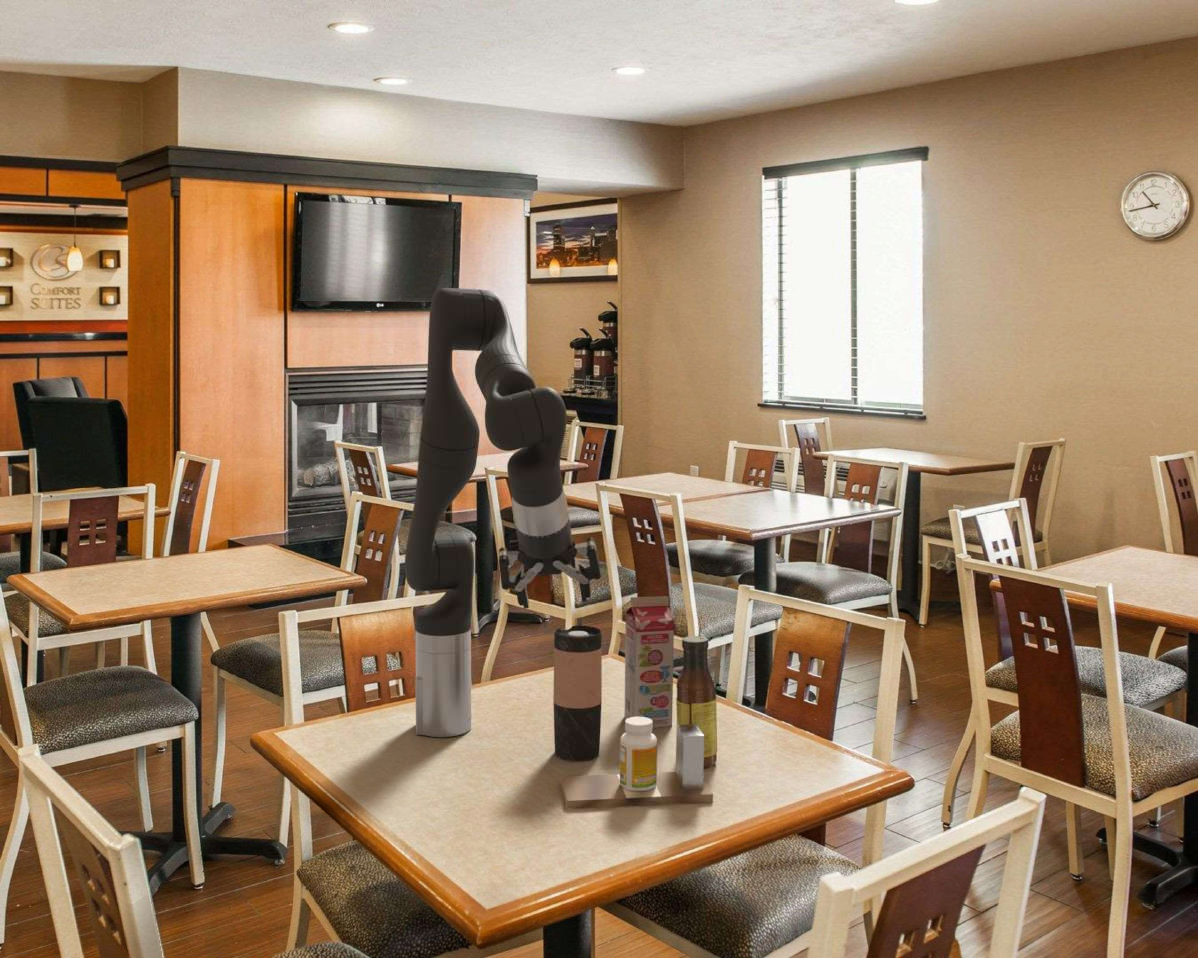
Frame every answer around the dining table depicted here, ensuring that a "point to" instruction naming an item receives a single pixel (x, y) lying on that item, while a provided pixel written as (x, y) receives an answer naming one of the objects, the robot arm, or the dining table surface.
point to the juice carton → (649, 660)
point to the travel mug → (577, 692)
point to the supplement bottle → (638, 755)
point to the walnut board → (627, 792)
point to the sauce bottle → (698, 695)
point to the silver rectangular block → (689, 756)
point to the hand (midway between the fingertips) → (555, 601)
